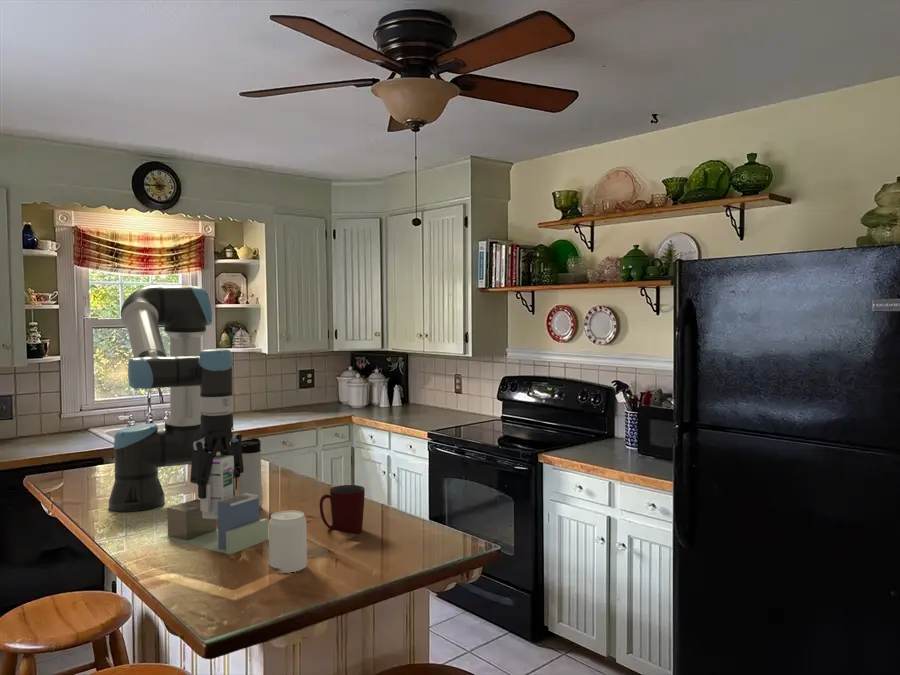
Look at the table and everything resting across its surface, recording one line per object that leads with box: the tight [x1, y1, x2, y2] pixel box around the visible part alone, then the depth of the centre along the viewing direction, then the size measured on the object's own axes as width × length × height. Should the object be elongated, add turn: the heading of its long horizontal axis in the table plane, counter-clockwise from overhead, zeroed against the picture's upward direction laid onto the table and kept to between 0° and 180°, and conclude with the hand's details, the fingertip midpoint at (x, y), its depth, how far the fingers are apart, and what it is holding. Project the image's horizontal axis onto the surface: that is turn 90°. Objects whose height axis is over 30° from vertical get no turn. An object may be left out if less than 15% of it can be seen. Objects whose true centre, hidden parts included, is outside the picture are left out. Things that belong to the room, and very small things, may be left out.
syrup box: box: [202, 453, 236, 520], centre depth 171 cm, size 6×6×14 cm
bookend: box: [166, 498, 217, 540], centre depth 176 cm, size 7×9×7 cm
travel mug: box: [238, 437, 263, 510], centre depth 203 cm, size 6×7×20 cm
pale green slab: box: [160, 518, 269, 555], centre depth 172 cm, size 24×12×6 cm, turn 59°
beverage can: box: [268, 510, 308, 574], centre depth 155 cm, size 8×8×12 cm
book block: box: [217, 493, 260, 550], centre depth 167 cm, size 4×9×11 cm, turn 149°
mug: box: [319, 484, 366, 535], centre depth 181 cm, size 12×9×11 cm
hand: (218, 507), depth 171 cm, fingers closed on syrup box, 7 cm apart
